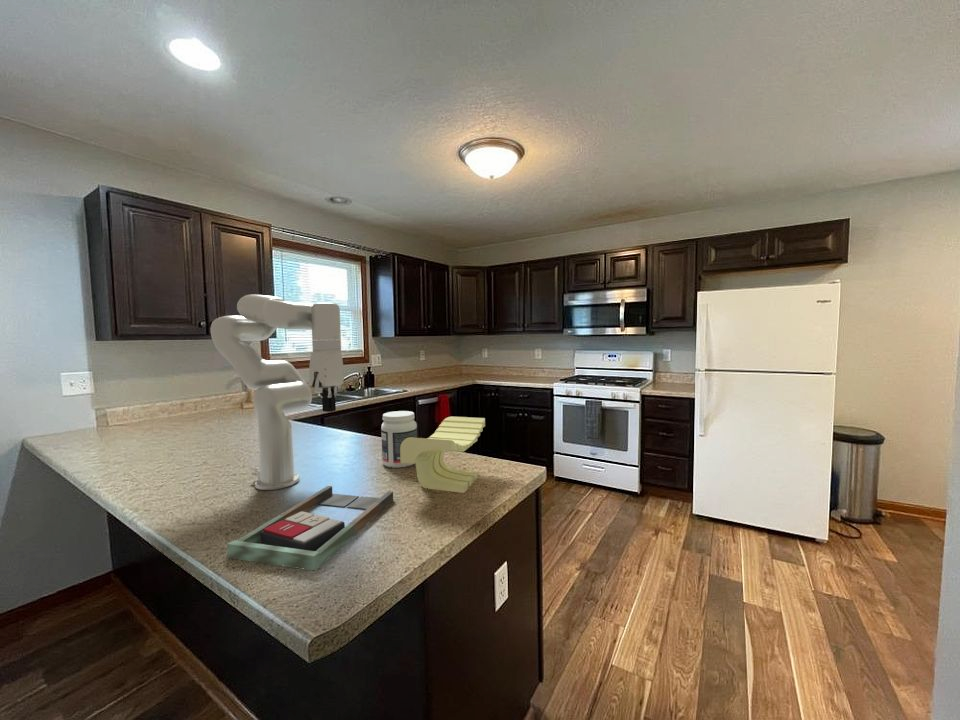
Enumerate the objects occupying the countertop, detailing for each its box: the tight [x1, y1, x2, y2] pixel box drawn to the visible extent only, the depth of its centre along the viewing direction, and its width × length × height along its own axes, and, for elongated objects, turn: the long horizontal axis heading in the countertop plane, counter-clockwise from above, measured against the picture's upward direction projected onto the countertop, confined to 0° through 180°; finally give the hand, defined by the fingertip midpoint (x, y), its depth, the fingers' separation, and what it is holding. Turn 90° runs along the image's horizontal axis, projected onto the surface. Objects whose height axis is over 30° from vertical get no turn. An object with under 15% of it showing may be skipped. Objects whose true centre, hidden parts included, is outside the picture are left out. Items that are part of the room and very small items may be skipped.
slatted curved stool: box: [400, 416, 486, 494], centre depth 122 cm, size 30×16×18 cm, turn 162°
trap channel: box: [226, 485, 394, 571], centre depth 95 cm, size 21×34×3 cm, turn 166°
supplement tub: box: [380, 410, 418, 469], centre depth 141 cm, size 13×13×18 cm
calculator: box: [260, 511, 346, 551], centre depth 88 cm, size 11×4×15 cm
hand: (329, 411), depth 110 cm, fingers closed
